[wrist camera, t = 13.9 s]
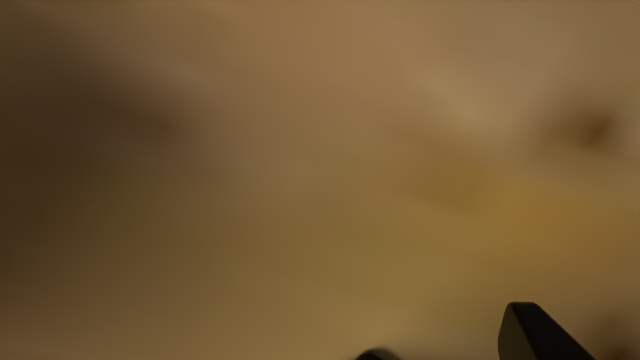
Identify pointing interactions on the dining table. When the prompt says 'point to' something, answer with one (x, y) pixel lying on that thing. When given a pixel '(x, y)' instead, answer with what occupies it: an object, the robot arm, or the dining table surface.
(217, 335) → the dining table surface
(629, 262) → the dining table surface
